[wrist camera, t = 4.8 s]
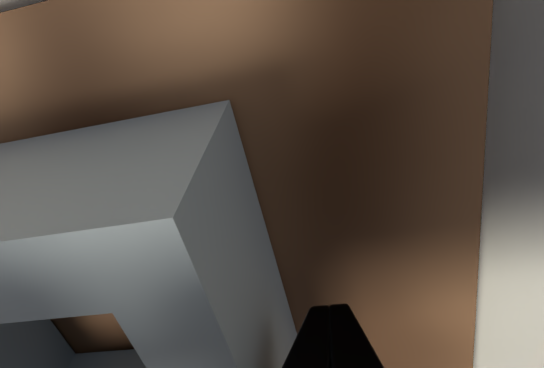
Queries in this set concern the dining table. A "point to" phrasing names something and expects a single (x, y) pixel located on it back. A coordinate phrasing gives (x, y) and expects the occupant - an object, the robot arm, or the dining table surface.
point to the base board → (298, 139)
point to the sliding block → (140, 246)
